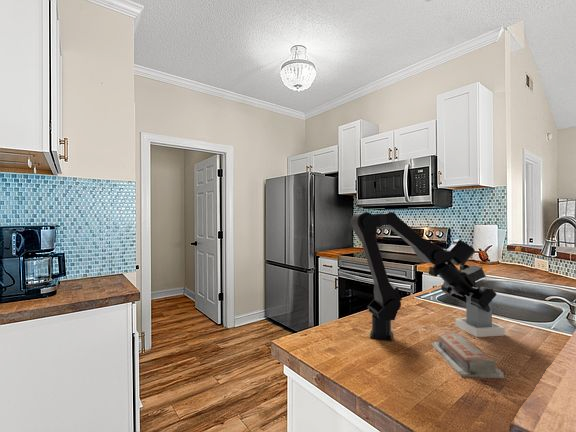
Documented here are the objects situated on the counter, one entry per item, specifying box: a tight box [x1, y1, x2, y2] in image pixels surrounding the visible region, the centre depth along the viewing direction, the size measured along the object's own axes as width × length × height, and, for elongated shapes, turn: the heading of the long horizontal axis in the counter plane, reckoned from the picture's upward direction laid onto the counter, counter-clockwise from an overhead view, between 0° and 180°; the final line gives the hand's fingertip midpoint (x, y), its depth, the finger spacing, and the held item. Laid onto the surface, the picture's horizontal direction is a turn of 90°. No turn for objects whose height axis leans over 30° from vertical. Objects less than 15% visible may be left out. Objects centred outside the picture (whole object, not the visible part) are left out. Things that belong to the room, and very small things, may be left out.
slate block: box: [465, 287, 493, 328], centre depth 99 cm, size 5×5×13 cm
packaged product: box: [430, 331, 505, 379], centre depth 79 cm, size 18×5×10 cm
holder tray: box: [455, 317, 506, 338], centre depth 99 cm, size 10×10×2 cm
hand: (482, 308), depth 99 cm, fingers closed on slate block, 5 cm apart
